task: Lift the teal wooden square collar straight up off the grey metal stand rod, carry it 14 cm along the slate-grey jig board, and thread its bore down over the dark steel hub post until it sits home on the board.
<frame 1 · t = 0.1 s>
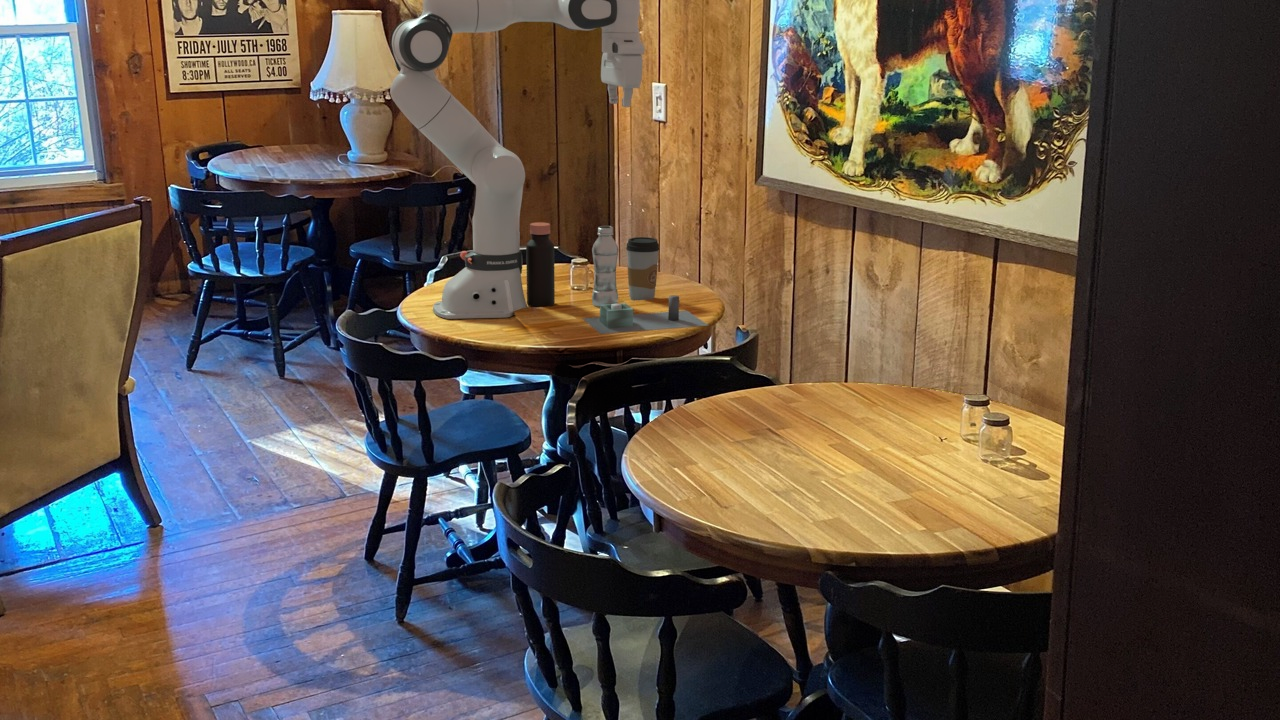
hand: (619, 105, 281), 48 cm above the table, tool pointing down, fingers open, 8 cm apart
vinegar: (540, 305, 290), on the table
plastic bottle: (604, 309, 287), on the table
coffee cup: (641, 299, 297), on the table
jig: (645, 325, 272), on the table
collar: (616, 323, 269), point 1 cm above the table, touching jig
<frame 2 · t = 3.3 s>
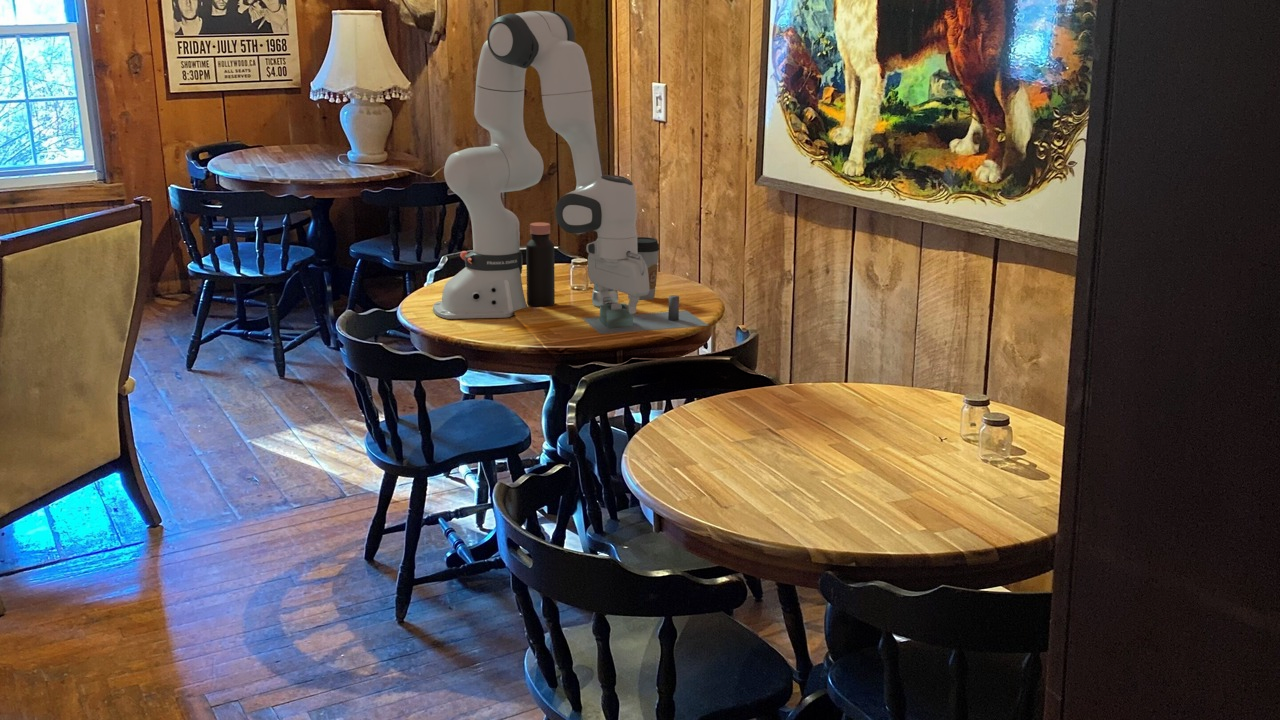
hand: (618, 309, 267), 5 cm above the table, tool pointing down, fingers open, 8 cm apart
collar: (616, 323, 269), point 1 cm above the table, touching gripper
everything else where it was.
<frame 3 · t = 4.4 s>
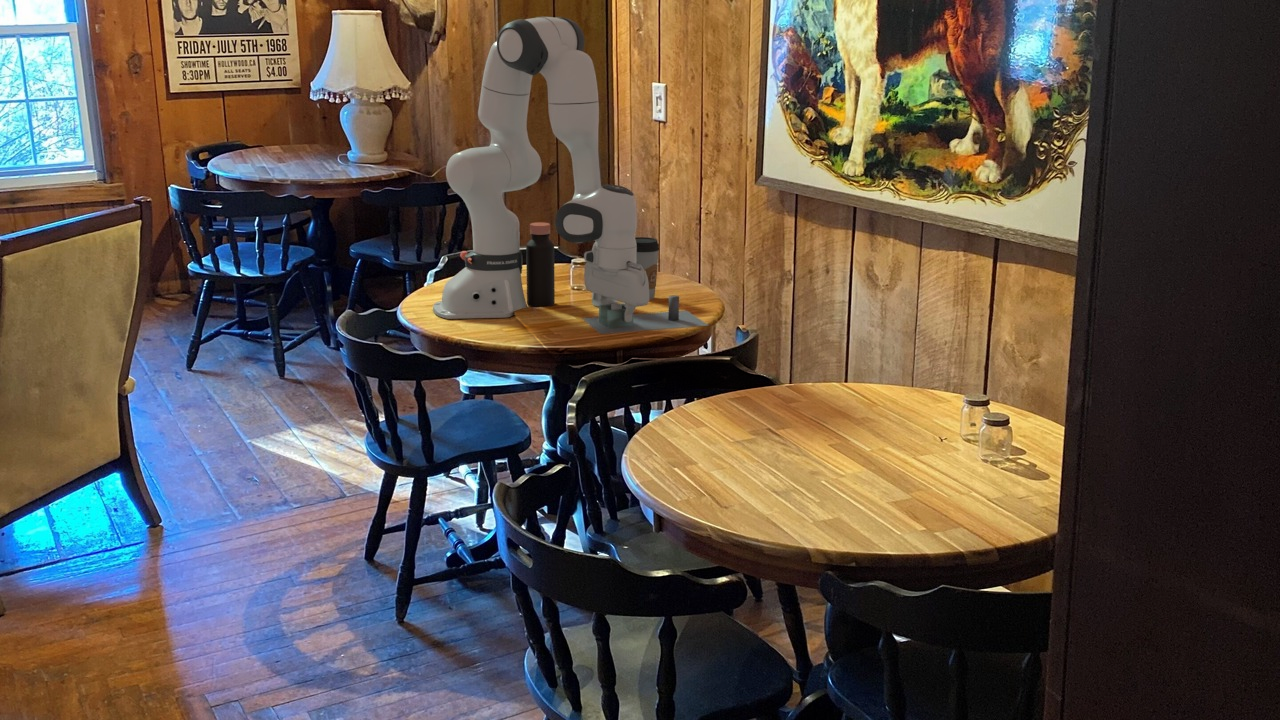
hand: (616, 317, 269), 3 cm above the table, tool pointing down, fingers closed on collar, 7 cm apart
collar: (616, 324, 269), point 1 cm above the table, touching gripper, jig
everything else where it was.
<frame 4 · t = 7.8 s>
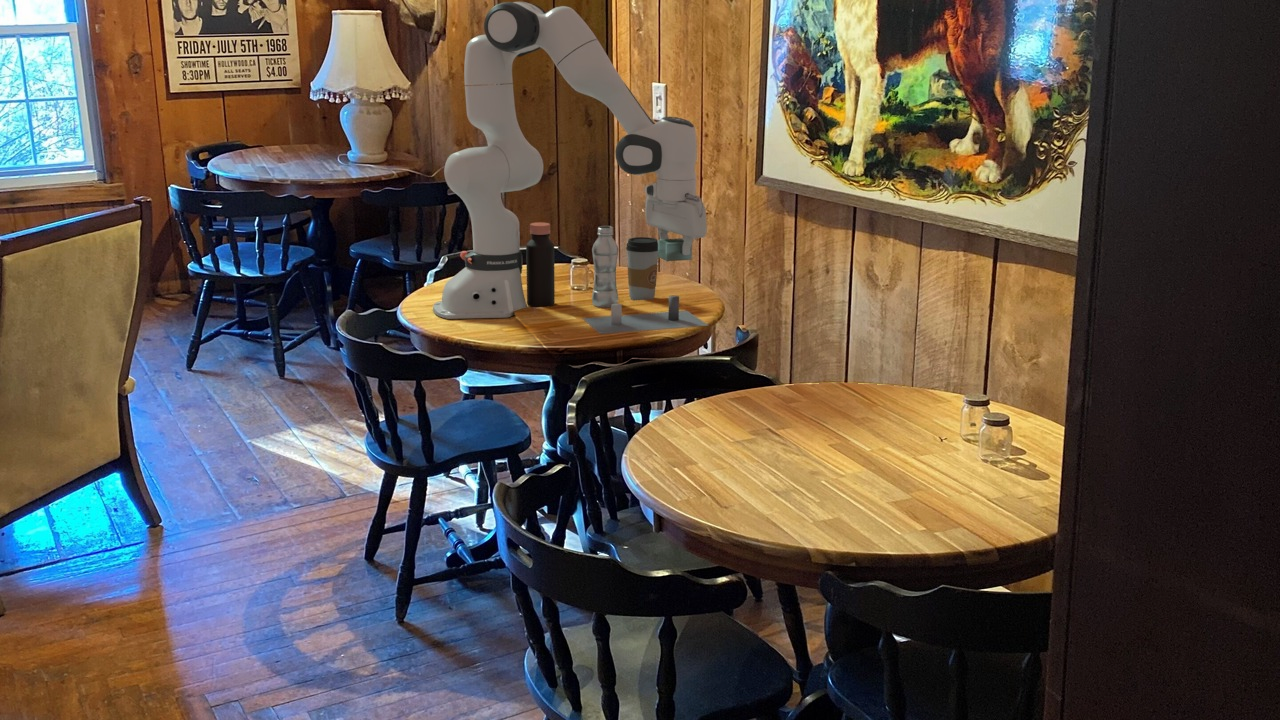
hand: (675, 251, 269), 17 cm above the table, tool pointing down, fingers closed on collar, 7 cm apart
collar: (674, 258, 270), point 16 cm above the table, touching gripper
everything else where it was.
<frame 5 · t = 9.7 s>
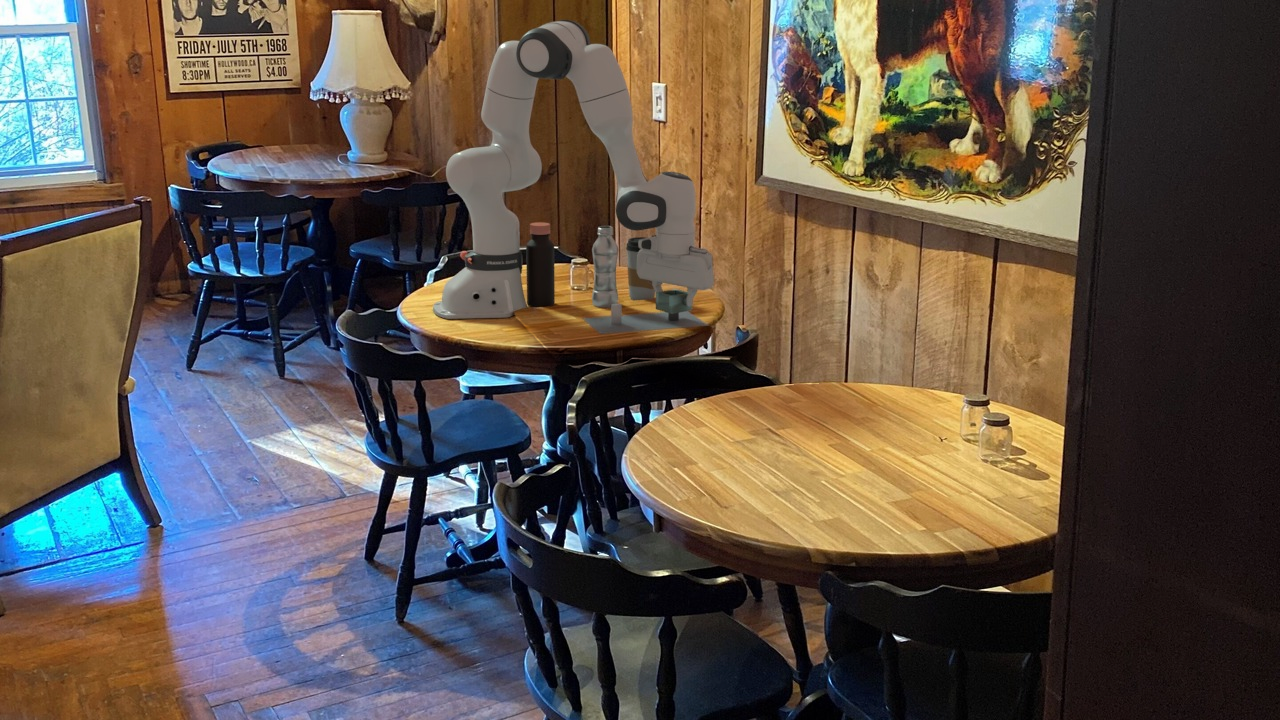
hand: (674, 302, 272), 5 cm above the table, tool pointing down, fingers closed on collar, 7 cm apart
collar: (673, 309, 273), point 3 cm above the table, touching gripper
everything else where it was.
when the fingers open (3 cm above the table, at t = 11.4 s): collar stays where it is, resting on jig.
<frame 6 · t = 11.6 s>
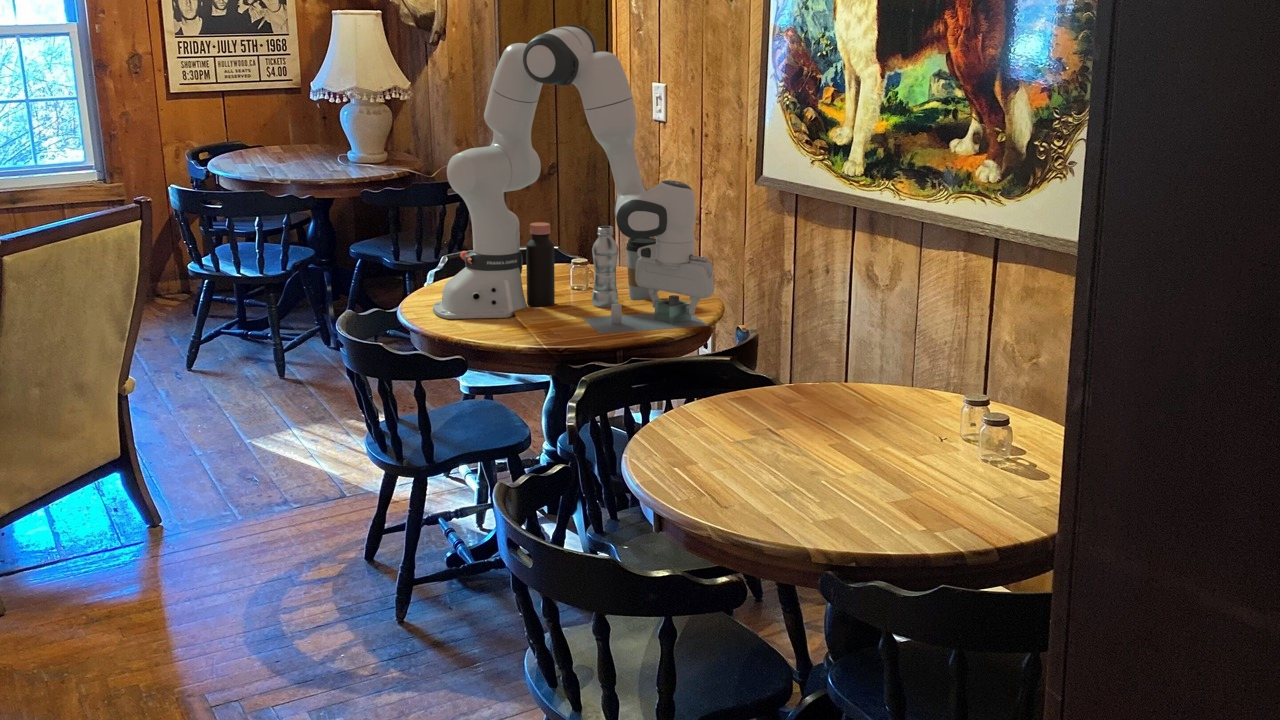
hand: (673, 310, 273), 3 cm above the table, tool pointing down, fingers open, 8 cm apart
collar: (672, 319, 274), point 1 cm above the table, touching jig
everything else where it was.
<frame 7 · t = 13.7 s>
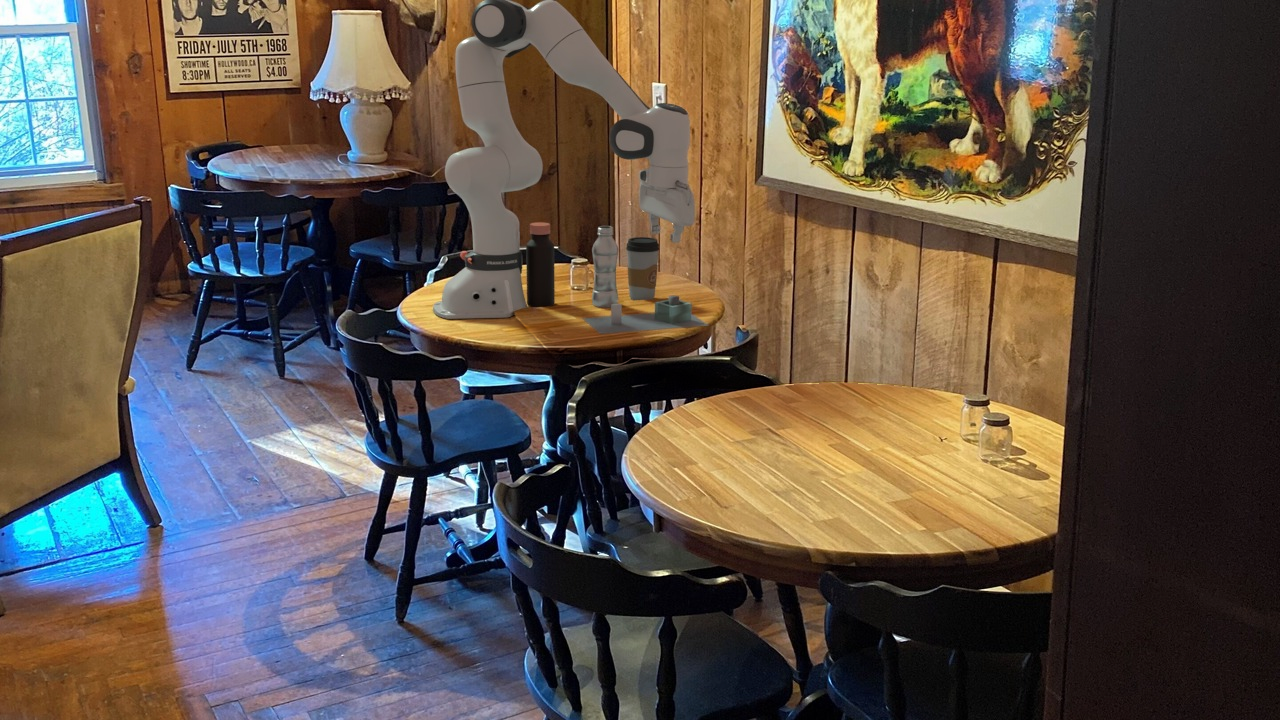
hand: (665, 237, 270), 20 cm above the table, tool pointing down, fingers open, 8 cm apart
nothing on the table moved.
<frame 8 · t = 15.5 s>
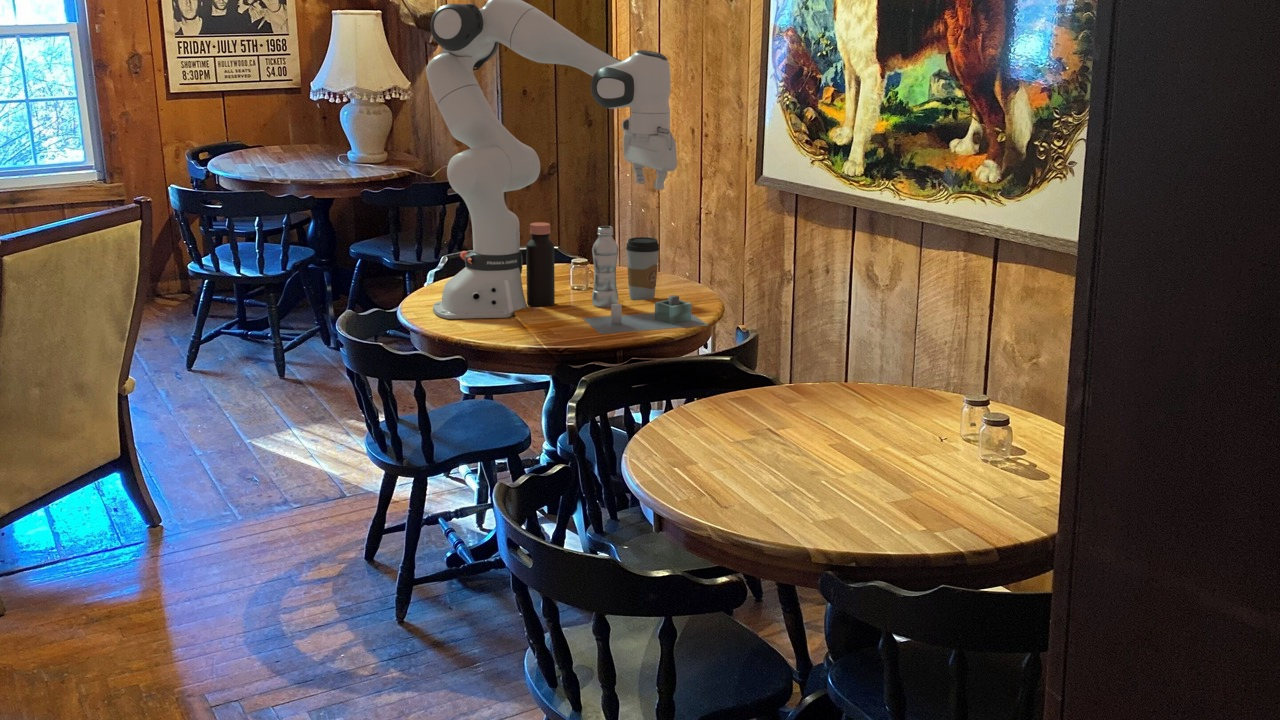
hand: (649, 186, 270), 31 cm above the table, tool pointing down, fingers open, 8 cm apart
nothing on the table moved.
at the end: collar 0.1 cm from the target spot, point 1.0 cm above the table; collar tilted 0°; the gripper is holding nothing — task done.
